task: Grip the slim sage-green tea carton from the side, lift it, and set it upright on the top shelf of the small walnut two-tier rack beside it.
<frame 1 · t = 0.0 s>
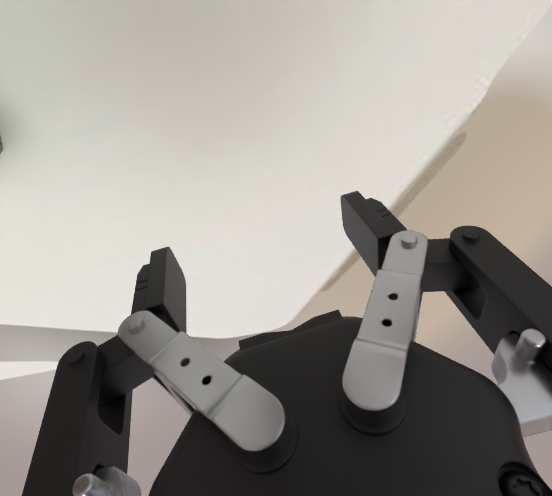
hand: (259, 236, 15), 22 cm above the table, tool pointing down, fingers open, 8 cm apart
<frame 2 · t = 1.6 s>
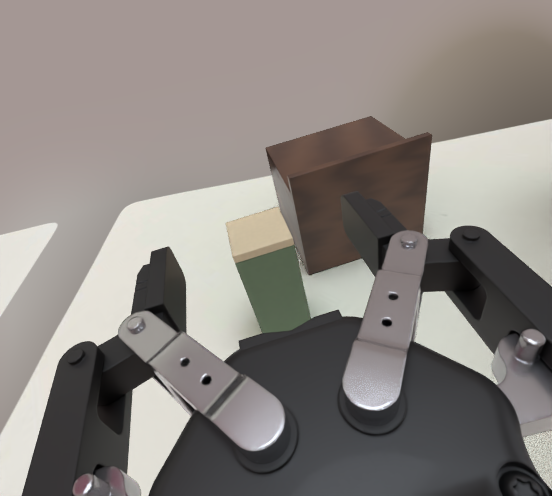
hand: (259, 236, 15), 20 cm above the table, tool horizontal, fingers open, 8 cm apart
shelf: (343, 224, 47), on the table
tea carton: (285, 322, 37), on the table
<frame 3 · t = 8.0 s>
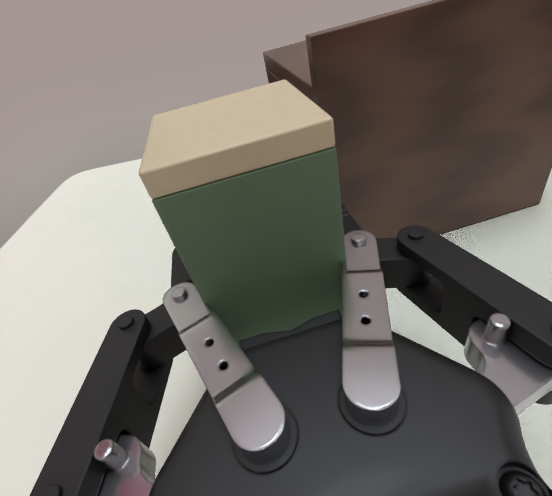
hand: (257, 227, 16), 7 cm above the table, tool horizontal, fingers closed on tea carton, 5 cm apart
shelf: (389, 187, 29), on the table
tea carton: (295, 356, 18), on the table, touching gripper
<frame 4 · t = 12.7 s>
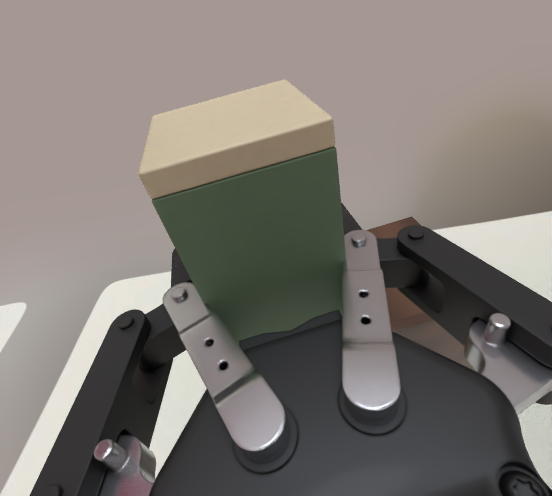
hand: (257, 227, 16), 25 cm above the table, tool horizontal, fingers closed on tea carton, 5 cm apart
shelf: (373, 349, 37), on the table
tea carton: (295, 356, 18), point 18 cm above the table, touching gripper
when the fingers open (18 cm above the table, at t = 17.7 s): tea carton stays where it is, resting on shelf.
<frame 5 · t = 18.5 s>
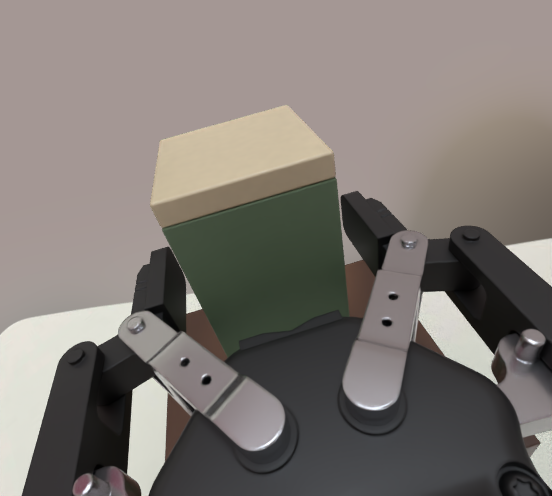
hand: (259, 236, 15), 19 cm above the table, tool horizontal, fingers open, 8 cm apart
shelf: (320, 445, 26), on the table
tea carton: (296, 366, 19), point 11 cm above the table, touching shelf
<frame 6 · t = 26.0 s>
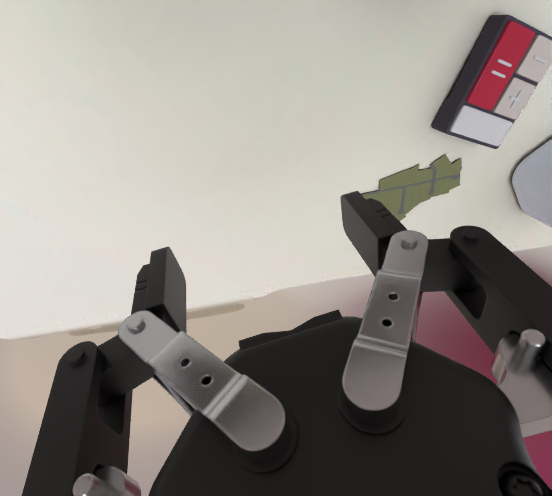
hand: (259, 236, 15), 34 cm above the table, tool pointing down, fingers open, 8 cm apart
map: (410, 192, 59), on the table
calculator: (484, 85, 50), on the table
plastic bottle: (549, 168, 63), on the table
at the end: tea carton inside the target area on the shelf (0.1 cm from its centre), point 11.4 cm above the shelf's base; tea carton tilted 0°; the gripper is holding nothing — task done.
